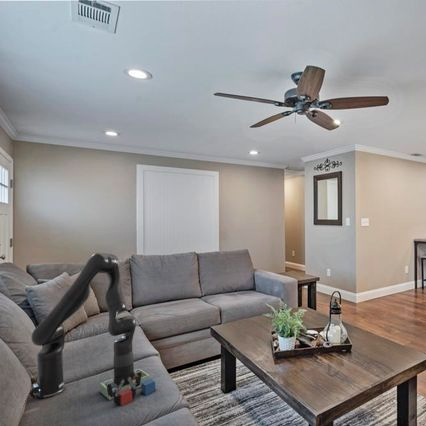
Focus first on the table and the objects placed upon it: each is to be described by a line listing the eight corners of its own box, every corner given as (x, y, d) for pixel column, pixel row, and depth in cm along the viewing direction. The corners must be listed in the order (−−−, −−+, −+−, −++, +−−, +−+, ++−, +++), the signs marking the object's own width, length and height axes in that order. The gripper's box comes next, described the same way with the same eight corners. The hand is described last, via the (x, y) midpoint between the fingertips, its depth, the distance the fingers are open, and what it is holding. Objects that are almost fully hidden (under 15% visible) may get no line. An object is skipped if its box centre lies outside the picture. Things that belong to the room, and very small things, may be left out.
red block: (121, 405, 141) (121, 395, 141) (117, 402, 143) (117, 392, 143) (132, 400, 144) (132, 390, 144) (128, 397, 147) (128, 387, 147)
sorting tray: (109, 400, 145) (109, 391, 145) (100, 391, 152) (99, 383, 152) (149, 383, 159) (149, 375, 159) (139, 376, 166) (139, 368, 166)
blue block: (145, 395, 148) (145, 385, 148) (141, 391, 151) (141, 382, 151) (155, 390, 152) (155, 381, 152) (151, 387, 155) (150, 378, 155)
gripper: (137, 354, 152) (138, 390, 152) (102, 366, 140) (103, 405, 140) (144, 358, 147) (145, 395, 147) (108, 371, 136) (109, 411, 136)
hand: (125, 400), depth 144 cm, fingers open, 5 cm apart
